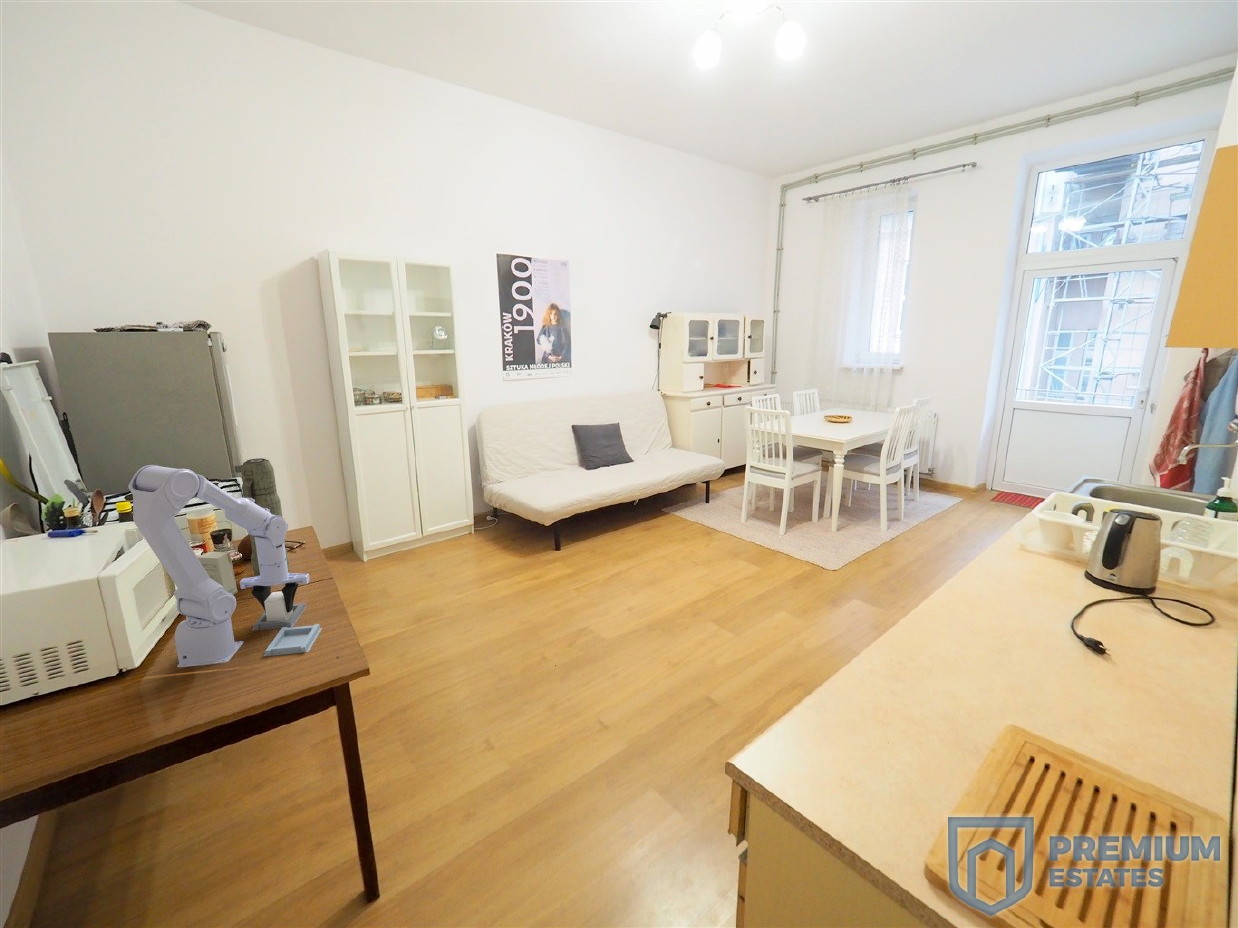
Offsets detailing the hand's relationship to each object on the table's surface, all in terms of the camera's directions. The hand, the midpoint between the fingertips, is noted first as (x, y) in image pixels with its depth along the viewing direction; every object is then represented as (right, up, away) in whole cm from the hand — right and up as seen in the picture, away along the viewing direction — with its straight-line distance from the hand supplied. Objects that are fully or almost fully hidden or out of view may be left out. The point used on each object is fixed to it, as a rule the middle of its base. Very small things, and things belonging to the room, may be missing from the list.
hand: (279, 611), depth 130 cm
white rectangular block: (0, -2, 0) cm, 2 cm away
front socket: (+10, -5, -9) cm, 14 cm away
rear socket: (0, -2, +1) cm, 2 cm away
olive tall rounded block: (-18, +4, +24) cm, 31 cm away
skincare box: (-23, +1, +11) cm, 26 cm away
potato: (-32, +7, +37) cm, 49 cm away
